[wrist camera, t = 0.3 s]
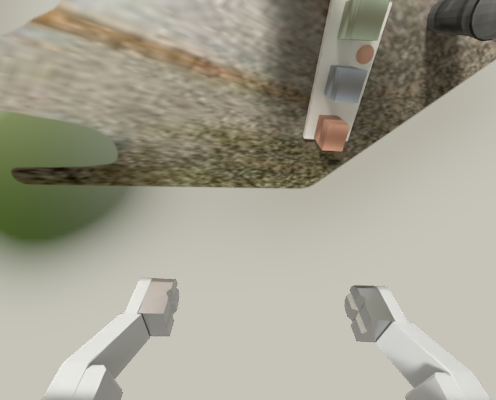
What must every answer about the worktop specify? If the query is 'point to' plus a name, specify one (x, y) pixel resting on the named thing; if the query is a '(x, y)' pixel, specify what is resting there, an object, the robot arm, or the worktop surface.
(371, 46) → the base
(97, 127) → the worktop surface
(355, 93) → the grey tall block
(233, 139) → the worktop surface
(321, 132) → the pink tall block
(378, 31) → the sage green block
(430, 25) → the beverage cup
